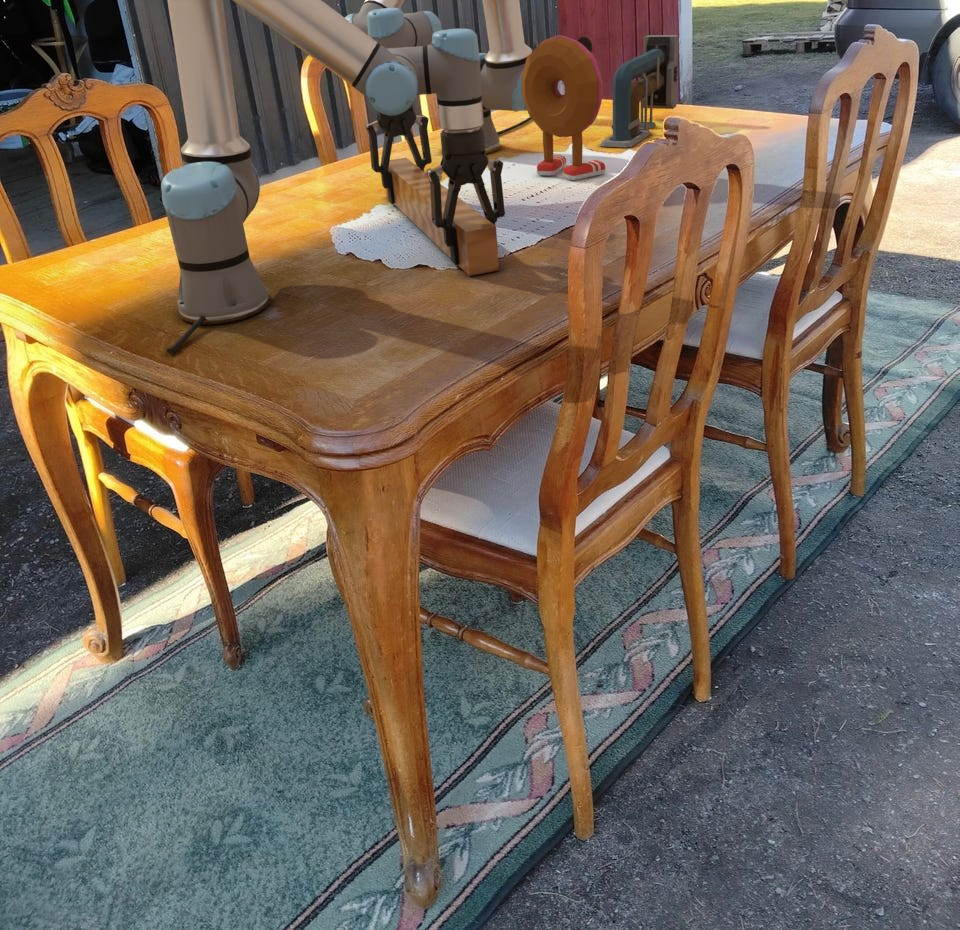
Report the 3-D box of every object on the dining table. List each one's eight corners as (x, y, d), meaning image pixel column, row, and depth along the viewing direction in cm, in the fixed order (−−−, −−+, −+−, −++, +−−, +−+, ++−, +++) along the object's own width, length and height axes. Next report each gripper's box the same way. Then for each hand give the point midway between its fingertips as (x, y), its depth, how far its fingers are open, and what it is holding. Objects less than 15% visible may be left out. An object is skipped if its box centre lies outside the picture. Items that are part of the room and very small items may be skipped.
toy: (617, 173, 223) (617, 32, 207) (590, 184, 216) (588, 39, 201) (546, 163, 236) (541, 30, 220) (519, 173, 230) (511, 36, 214)
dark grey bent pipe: (630, 147, 243) (630, 56, 233) (598, 146, 247) (597, 56, 236) (676, 118, 269) (678, 35, 258) (646, 117, 273) (647, 35, 262)
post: (499, 270, 172) (496, 226, 168) (469, 276, 171) (465, 231, 167) (410, 193, 221) (406, 157, 217) (386, 197, 220) (381, 161, 216)
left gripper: (505, 117, 170) (512, 245, 182) (403, 131, 166) (417, 262, 177) (520, 124, 164) (526, 256, 176) (415, 140, 159) (428, 274, 171)
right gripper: (430, 81, 208) (440, 189, 220) (346, 93, 204) (361, 202, 215) (440, 86, 202) (450, 197, 214) (353, 98, 197) (369, 211, 209)
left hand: (471, 259), depth 177 cm, fingers closed on post, 6 cm apart
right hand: (405, 199), depth 215 cm, fingers closed on post, 6 cm apart
